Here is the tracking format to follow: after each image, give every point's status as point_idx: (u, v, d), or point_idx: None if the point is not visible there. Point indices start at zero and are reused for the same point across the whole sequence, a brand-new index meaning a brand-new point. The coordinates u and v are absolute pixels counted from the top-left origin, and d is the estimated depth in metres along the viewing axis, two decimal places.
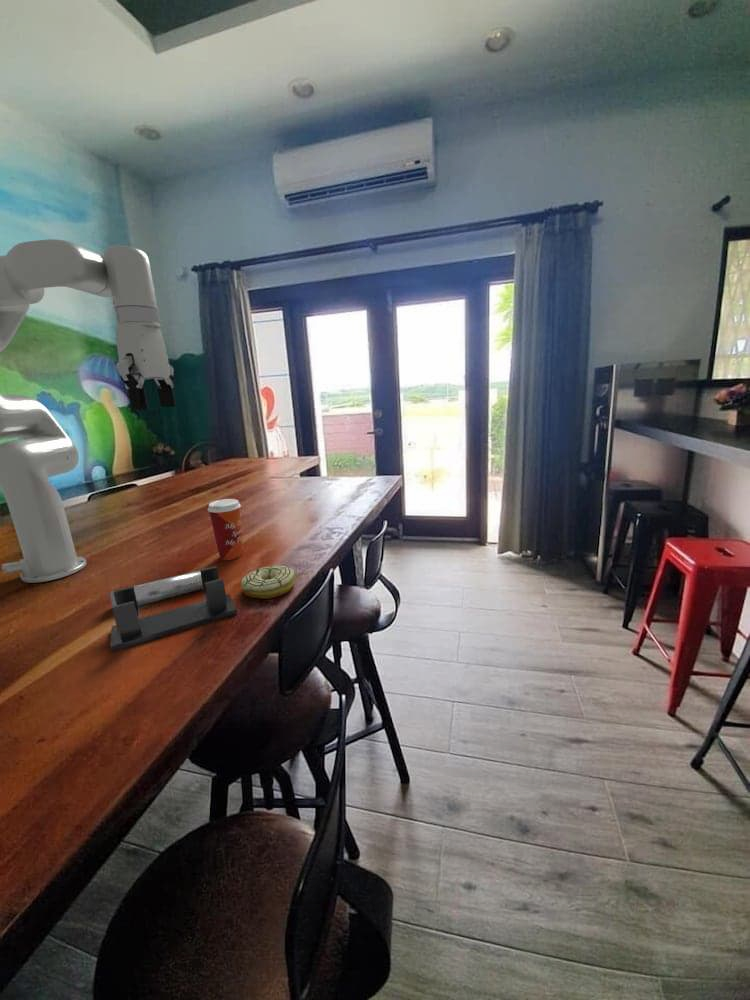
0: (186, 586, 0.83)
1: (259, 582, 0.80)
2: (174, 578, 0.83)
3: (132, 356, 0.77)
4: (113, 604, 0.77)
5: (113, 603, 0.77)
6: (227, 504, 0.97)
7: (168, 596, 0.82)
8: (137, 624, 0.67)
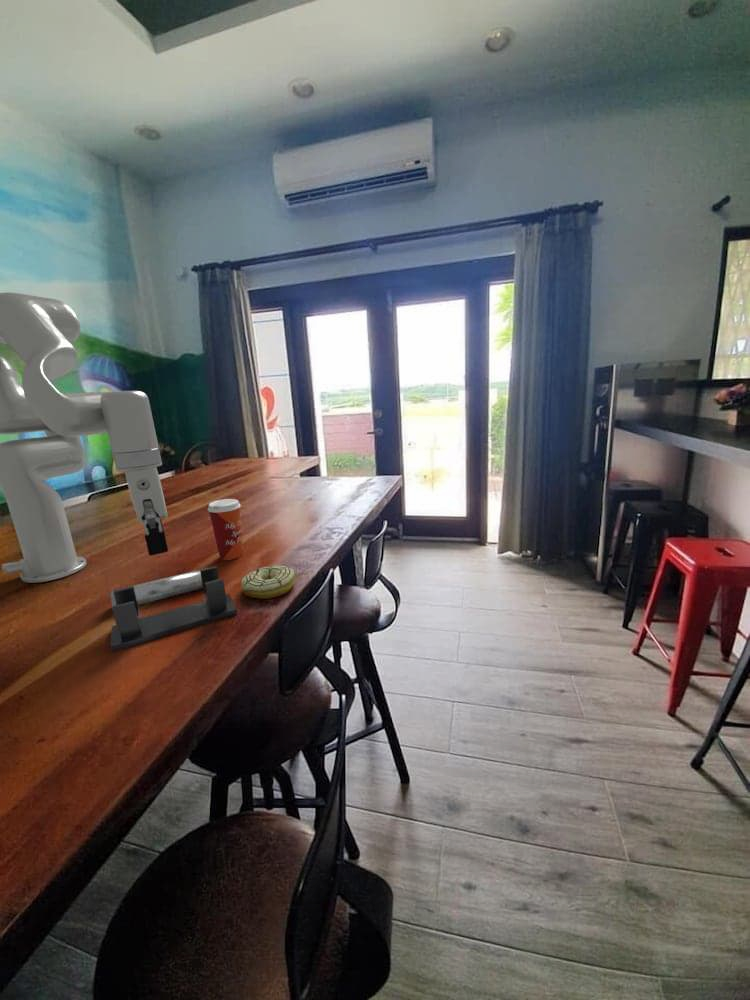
0: (186, 584, 0.83)
1: (259, 582, 0.80)
2: (174, 577, 0.83)
3: None
4: (113, 601, 0.77)
5: (113, 600, 0.77)
6: (227, 504, 0.97)
7: (168, 594, 0.82)
8: (137, 624, 0.67)
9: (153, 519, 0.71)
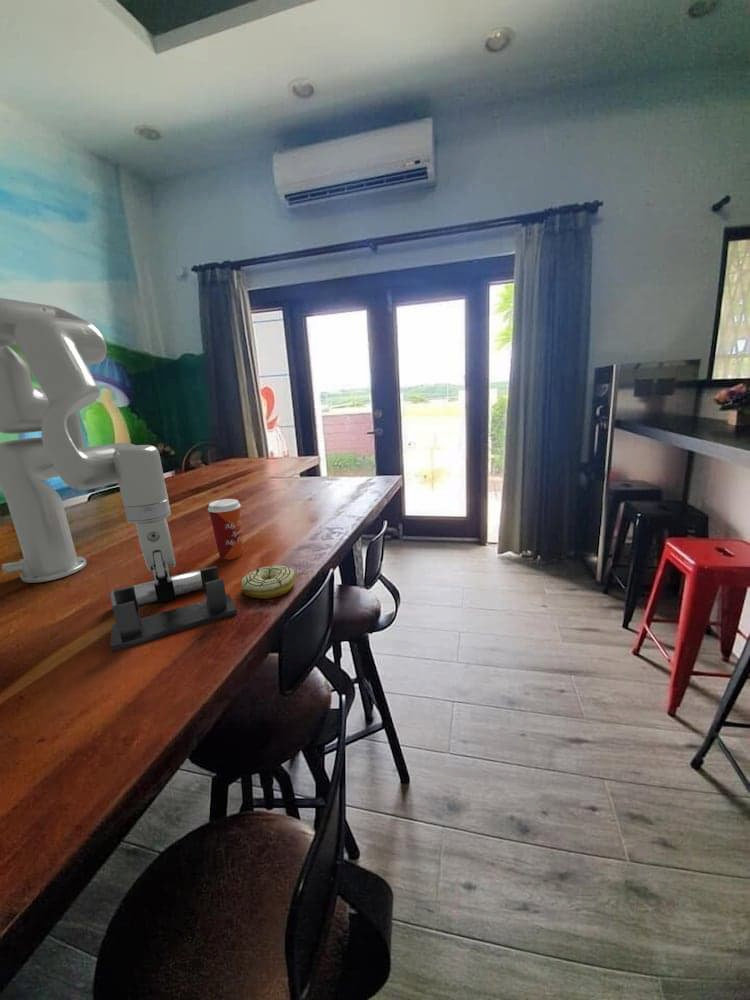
0: (186, 585, 0.83)
1: (259, 582, 0.80)
2: (174, 577, 0.83)
3: None
4: (113, 603, 0.77)
5: (113, 602, 0.77)
6: (227, 504, 0.97)
7: None
8: (137, 624, 0.67)
9: (164, 577, 0.76)
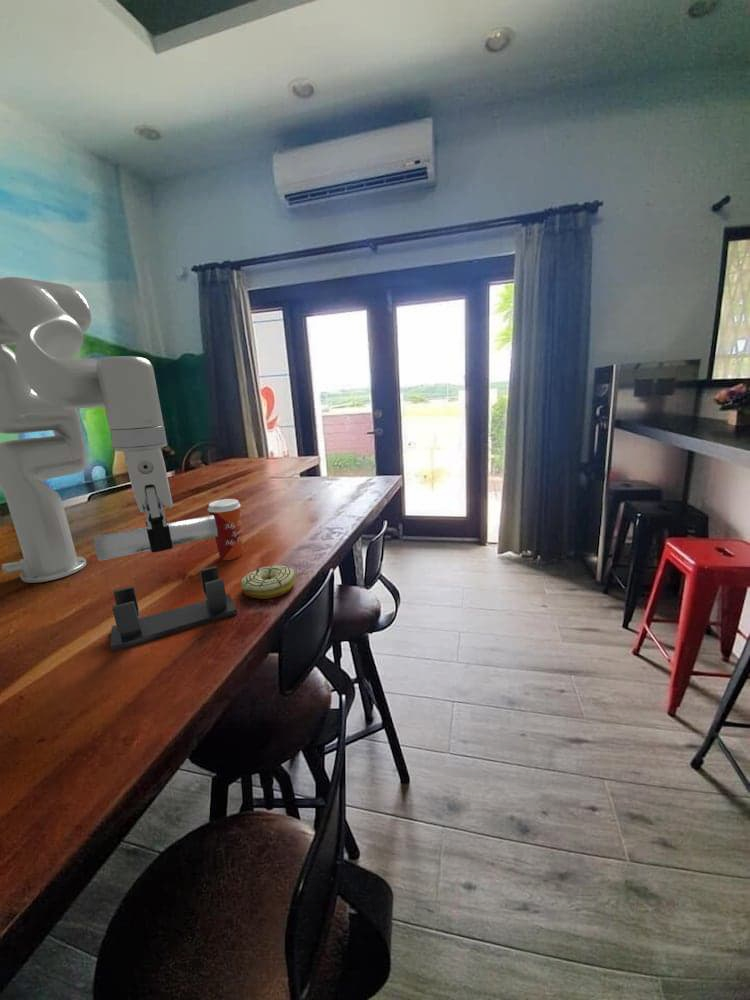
0: (186, 533, 0.69)
1: (258, 582, 0.80)
2: (171, 523, 0.69)
3: None
4: (97, 549, 0.63)
5: (97, 548, 0.63)
6: (227, 504, 0.97)
7: None
8: (137, 624, 0.67)
9: (158, 518, 0.63)
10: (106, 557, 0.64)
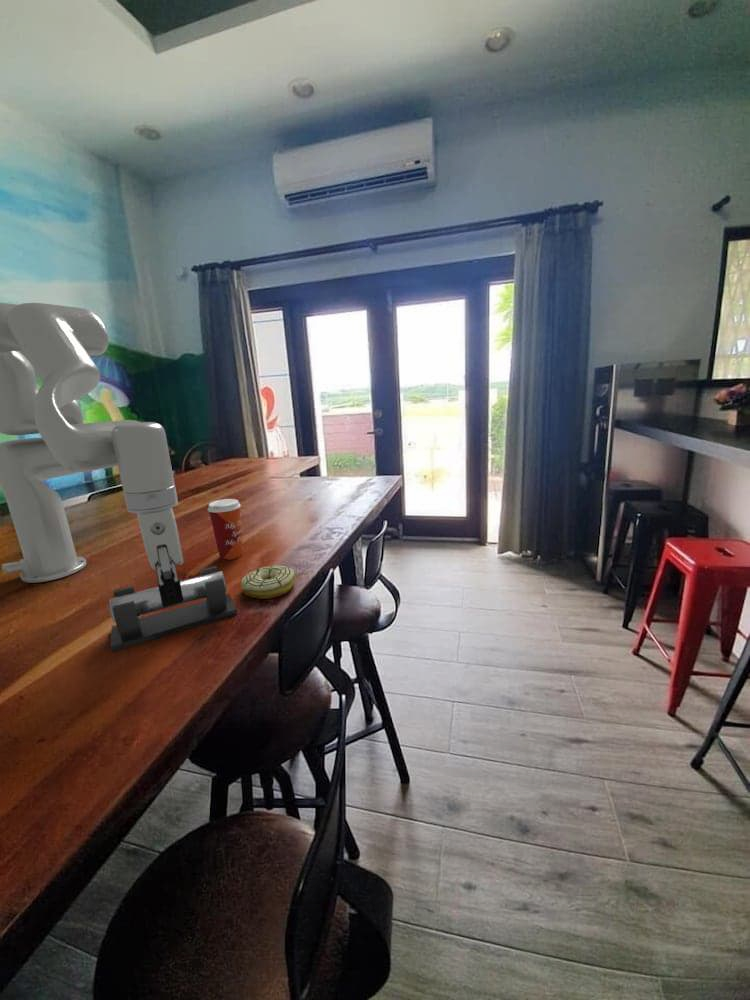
0: (196, 592, 0.72)
1: (258, 582, 0.80)
2: (182, 583, 0.72)
3: None
4: (112, 613, 0.66)
5: (112, 612, 0.66)
6: (227, 504, 0.97)
7: None
8: (137, 624, 0.67)
9: (169, 572, 0.64)
10: None
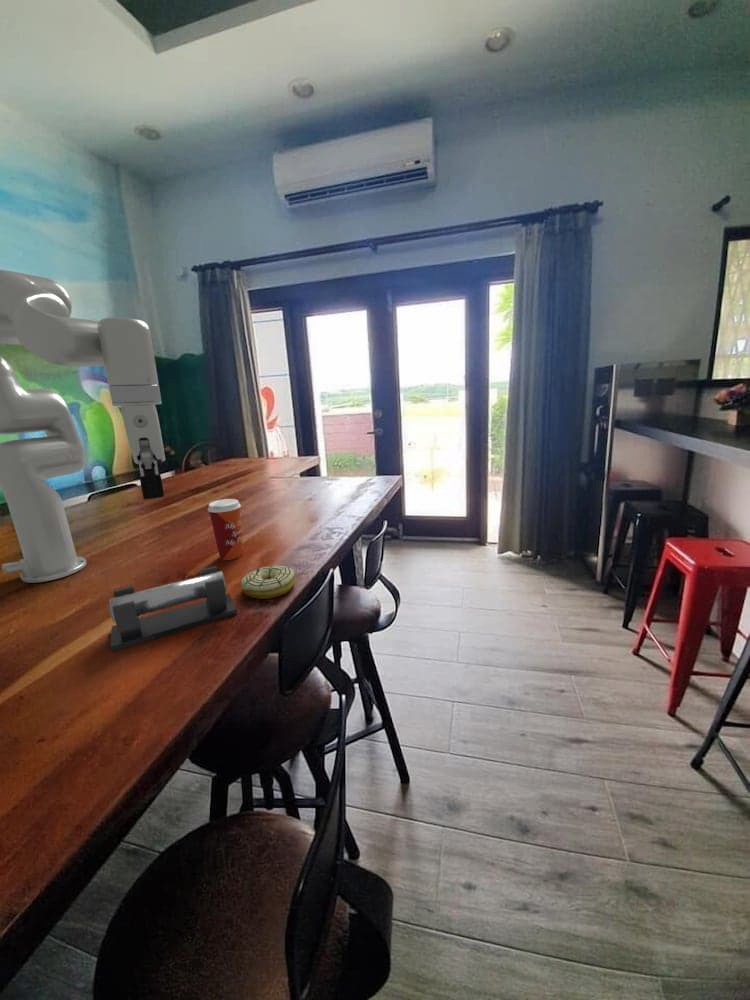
0: (196, 591, 0.72)
1: (258, 582, 0.80)
2: (182, 582, 0.72)
3: None
4: (112, 613, 0.66)
5: (112, 612, 0.66)
6: (227, 504, 0.97)
7: (176, 603, 0.71)
8: (137, 624, 0.67)
9: (149, 458, 0.66)
10: None
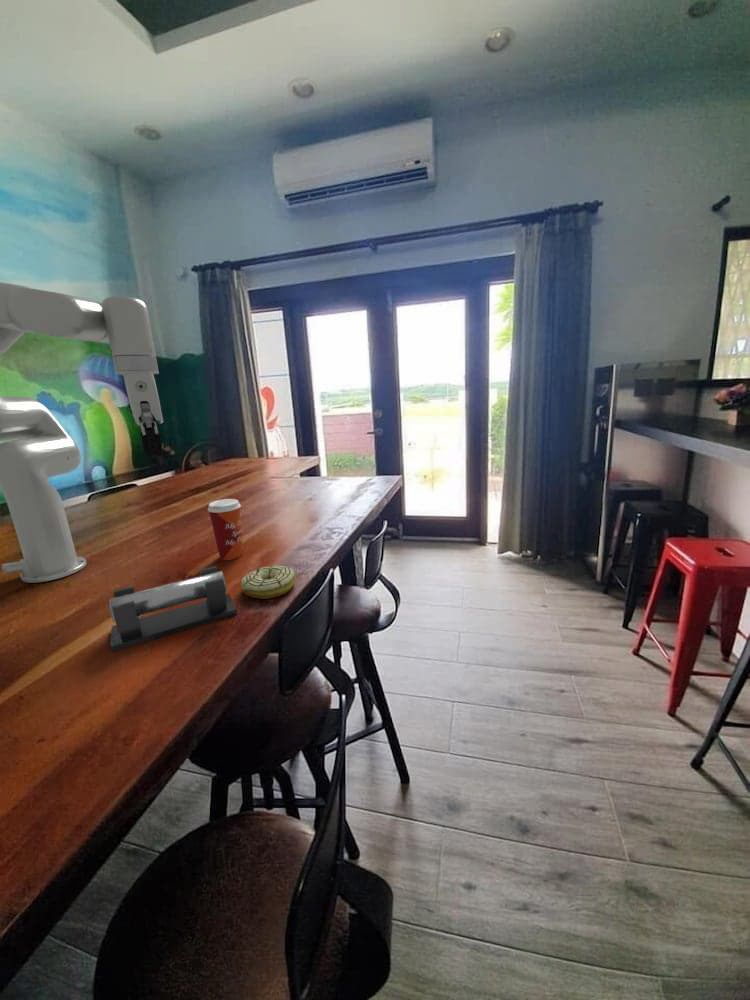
0: (196, 591, 0.72)
1: (258, 582, 0.80)
2: (182, 582, 0.72)
3: None
4: (112, 613, 0.66)
5: (112, 612, 0.66)
6: (227, 504, 0.97)
7: (176, 603, 0.71)
8: (137, 624, 0.67)
9: (149, 417, 0.76)
10: None
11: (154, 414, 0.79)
